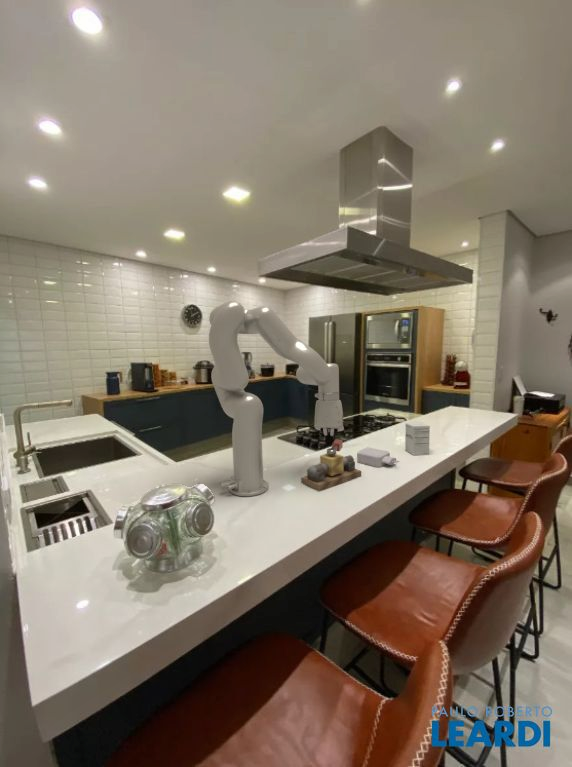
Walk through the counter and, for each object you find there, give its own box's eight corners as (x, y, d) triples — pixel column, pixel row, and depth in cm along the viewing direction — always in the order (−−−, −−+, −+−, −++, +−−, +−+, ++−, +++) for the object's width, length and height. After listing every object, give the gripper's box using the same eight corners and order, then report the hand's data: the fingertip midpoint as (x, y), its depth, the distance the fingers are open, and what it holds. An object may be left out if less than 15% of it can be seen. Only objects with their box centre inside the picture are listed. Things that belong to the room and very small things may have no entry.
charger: (392, 471, 119) (357, 463, 130) (403, 465, 126) (369, 457, 136) (392, 459, 119) (356, 451, 129) (403, 453, 125) (369, 446, 136)
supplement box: (404, 450, 144) (404, 422, 142) (420, 449, 144) (421, 421, 143) (413, 455, 136) (413, 426, 135) (429, 454, 137) (430, 425, 136)
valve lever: (335, 458, 110) (335, 449, 110) (325, 457, 111) (325, 449, 111) (343, 447, 123) (343, 439, 122) (335, 446, 124) (334, 439, 124)
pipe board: (319, 491, 103) (318, 462, 102) (301, 483, 110) (300, 456, 110) (361, 476, 115) (361, 450, 114) (342, 469, 122) (342, 445, 122)
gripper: (306, 397, 120) (307, 446, 121) (347, 398, 115) (347, 449, 116) (312, 395, 127) (313, 441, 128) (350, 395, 122) (351, 444, 123)
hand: (329, 445), depth 122 cm, fingers closed
